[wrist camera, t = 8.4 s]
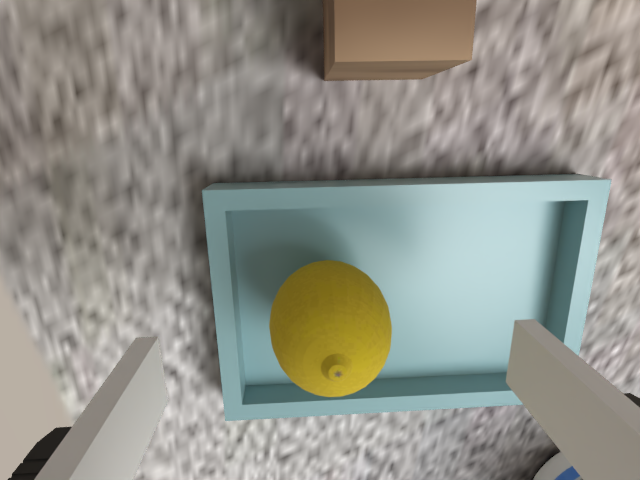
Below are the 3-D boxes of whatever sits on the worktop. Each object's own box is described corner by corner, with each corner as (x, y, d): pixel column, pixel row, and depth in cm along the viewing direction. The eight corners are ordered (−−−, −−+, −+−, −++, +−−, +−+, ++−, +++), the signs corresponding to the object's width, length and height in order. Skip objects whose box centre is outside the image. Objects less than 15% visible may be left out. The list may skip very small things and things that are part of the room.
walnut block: (322, -34, 18) (333, -107, 13) (426, -34, 19) (484, -106, 13) (324, 80, 20) (335, 61, 14) (421, 79, 20) (471, 59, 14)
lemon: (269, 327, 22) (253, 429, 15) (282, 234, 21) (272, 294, 13) (363, 339, 23) (395, 443, 15) (382, 249, 22) (428, 314, 14)
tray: (212, 183, 21) (201, 190, 18) (576, 173, 22) (611, 179, 19) (232, 392, 24) (225, 421, 22) (544, 376, 25) (569, 401, 23)
